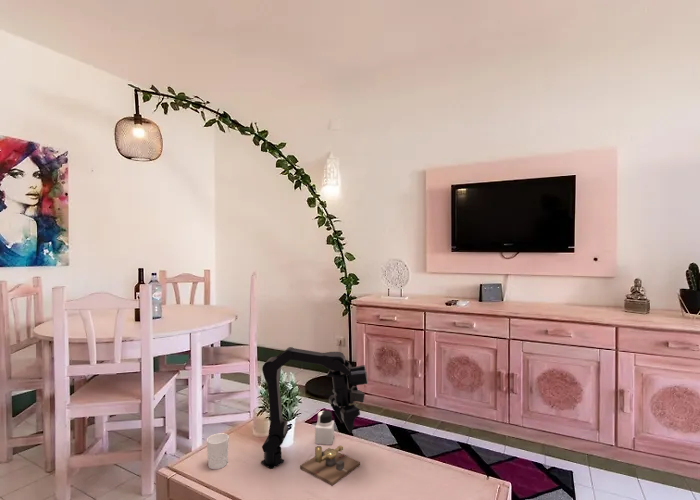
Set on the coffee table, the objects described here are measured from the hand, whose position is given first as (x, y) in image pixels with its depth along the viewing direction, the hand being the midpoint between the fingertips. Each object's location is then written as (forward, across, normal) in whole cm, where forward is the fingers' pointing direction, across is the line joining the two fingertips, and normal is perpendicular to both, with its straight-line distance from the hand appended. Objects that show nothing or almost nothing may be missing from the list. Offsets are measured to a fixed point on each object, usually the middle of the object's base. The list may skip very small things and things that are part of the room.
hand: (346, 427), depth 142 cm
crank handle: (+9, +2, +8) cm, 12 cm away
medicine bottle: (+13, +22, +4) cm, 26 cm away
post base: (+13, +2, +8) cm, 16 cm away
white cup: (+8, +18, +47) cm, 51 cm away
